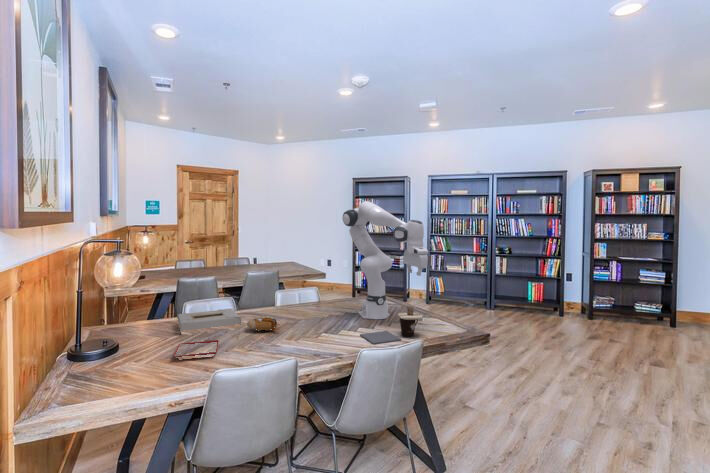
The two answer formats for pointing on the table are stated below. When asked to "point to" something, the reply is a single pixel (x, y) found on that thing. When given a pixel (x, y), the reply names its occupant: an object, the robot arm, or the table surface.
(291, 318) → the table surface
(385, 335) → the mat
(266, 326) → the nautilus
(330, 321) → the table surface
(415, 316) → the lid
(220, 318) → the box
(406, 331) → the coffee mug
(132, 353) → the table surface
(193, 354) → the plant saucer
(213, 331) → the table surface
